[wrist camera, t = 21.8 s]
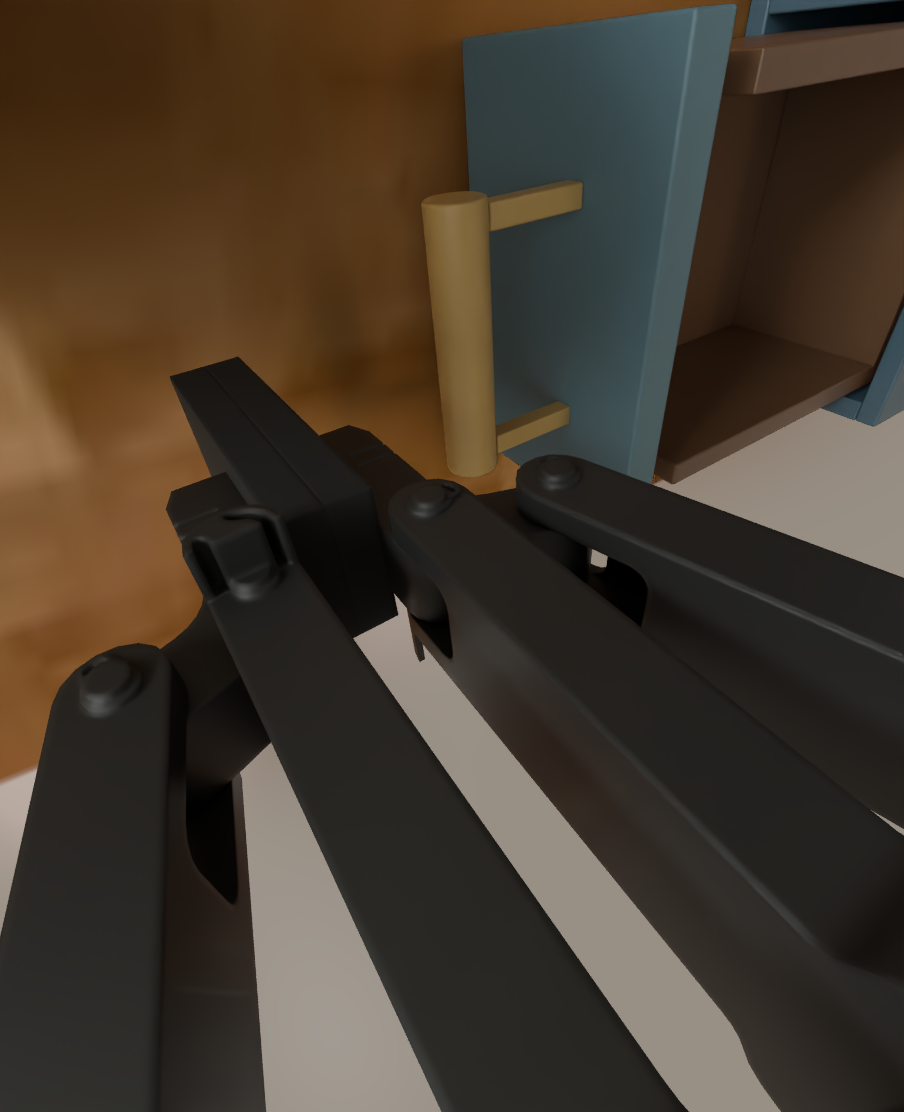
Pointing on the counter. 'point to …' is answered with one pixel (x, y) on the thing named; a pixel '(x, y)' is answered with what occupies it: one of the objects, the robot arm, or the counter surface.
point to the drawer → (665, 238)
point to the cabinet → (900, 374)
